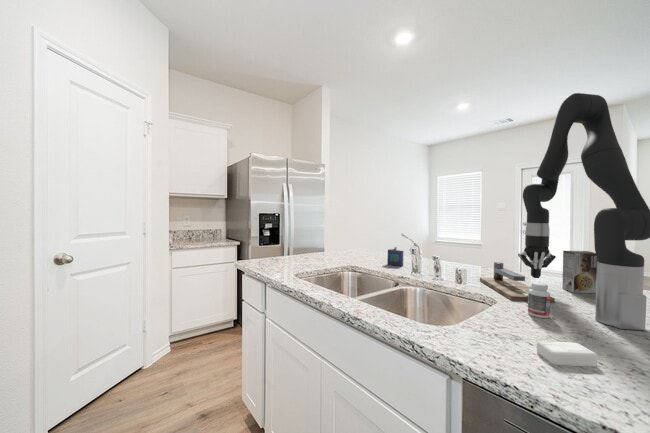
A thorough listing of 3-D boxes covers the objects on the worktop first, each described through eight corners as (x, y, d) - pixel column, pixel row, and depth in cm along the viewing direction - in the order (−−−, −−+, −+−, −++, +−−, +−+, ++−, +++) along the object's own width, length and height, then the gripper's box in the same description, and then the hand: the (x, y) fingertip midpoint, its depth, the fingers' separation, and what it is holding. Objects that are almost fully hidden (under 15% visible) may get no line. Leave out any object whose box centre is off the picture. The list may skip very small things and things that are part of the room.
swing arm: (524, 289, 107) (525, 271, 107) (513, 289, 108) (513, 270, 107) (501, 278, 126) (501, 262, 125) (491, 277, 126) (492, 262, 126)
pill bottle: (551, 319, 82) (552, 287, 81) (529, 316, 84) (529, 284, 84) (547, 314, 86) (548, 283, 86) (526, 310, 89) (527, 280, 89)
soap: (576, 354, 62) (577, 341, 62) (599, 368, 57) (599, 354, 57) (535, 353, 63) (535, 339, 63) (553, 366, 58) (553, 352, 57)
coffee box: (584, 289, 115) (586, 250, 115) (598, 294, 109) (600, 253, 108) (561, 288, 116) (562, 250, 115) (573, 293, 109) (574, 252, 109)
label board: (554, 302, 97) (554, 297, 97) (511, 300, 99) (511, 295, 99) (512, 282, 125) (512, 278, 125) (479, 280, 127) (479, 277, 127)
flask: (403, 265, 160) (404, 247, 160) (402, 266, 157) (402, 247, 157) (388, 264, 164) (388, 246, 164) (386, 265, 162) (386, 246, 162)
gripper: (524, 234, 107) (522, 279, 107) (562, 235, 105) (560, 281, 105) (513, 233, 114) (512, 274, 115) (549, 234, 112) (547, 276, 113)
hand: (535, 277), depth 110 cm, fingers closed
